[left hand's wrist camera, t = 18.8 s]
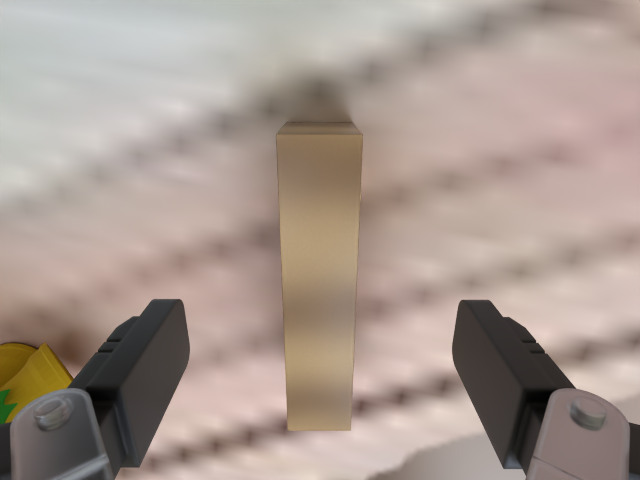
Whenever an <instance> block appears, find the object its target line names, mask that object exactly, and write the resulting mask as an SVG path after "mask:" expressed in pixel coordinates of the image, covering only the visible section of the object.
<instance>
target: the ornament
mask: <svg viewBox="0 0 640 480" xmlns="http://www.w3.org/2000/svg"><path fill="white" fill-rule="evenodd" d="M73 380H74V379H73V377H72V376H71V375H70V373H69V372H68V370H67V369H66V368H65V366H64V365H63V364H62V362H61V361H60V360H59V358H58V357H57V356H56V355H55V353H54V352H53V351H52V350H51V348H50V347H49V346H48V345H47V344H46V343H43V344H42V345H40V347H39V349H38V350H37V349H35V348H33V347H30V346H27V345H23V344H17V343H8V344H3V345H0V424H4V423H9V422H12V421H13V419H14V418H15V416H16V415H17V414H18V413H19V411H20V410H22V409H23V408H24V407H25V406H26V405H28V404H29V403H30V402H32V401H34V400H35V399H37V398H39V397H41V396H43V395H45V394H48V393H50V392H53V391H57V390H61V389H66V388H67V387H68V386H69V385H70V383H71V382H72V381H73Z"/></svg>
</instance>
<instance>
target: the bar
mask: <svg viewBox="0 0 640 480" xmlns="http://www.w3.org/2000/svg"><path fill="white" fill-rule="evenodd" d="M362 142H363V134H362V133H361V132H360V131H359V129H358V128H357V127H356V126H355V124H354V123H338V122H287V123H286V124H285V125H284V126H283V127H282V128H281V130H280V131H279V132H278V133H277V134H276V144H277V169H278V194H279V219H280V244H281V269H282V294H283V320H284V345H285V370H286V395H287V420H288V431H351V412H352V388H353V363H354V338H355V314H356V289H357V265H358V240H359V215H360V191H361V166H362Z"/></svg>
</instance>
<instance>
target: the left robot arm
mask: <svg viewBox="0 0 640 480" xmlns="http://www.w3.org/2000/svg"><path fill="white" fill-rule="evenodd" d="M189 354H190V344H189V337H188V330H187V323H186V317H185V310H184V305H183V302H182V300H180V299H153V300H152V301H151V302H150V303H149V305H148V306H147V307H146V309H145V310H144V311H143V312H142V314H141V315H140V316H133V317H132V318H130V319H129V320H127V321H126V322H124V323H123V324H121V325H119V326H118V327H117V328H116V329H115V330H114V331H113V333H112V334H111V335H110V336H109V337H108V339H107V342H104V343H103V345H102V346H101V347H100V348H99V350H98V353H95V354H94V356H93V357H92V358H91V359H90V360H89V362H88V363H87V364H86V365H85V366H84V368H83V369H82V370H81V371H80V372H79V374H78V375H77V376H76V377H75V379H74V380H73V381H72V382H71V383H70V385H69V386H68V387H67V388H66V389H61V390H57V391H53V392H50V393H48V394H45V395H43V396H41V397H39V398H37V399H35V400H34V401H32V402H30V403H29V404H28V405H26V406H25V407H24V408H23V409H22V410H20V411H19V413H18V414H17V415H16V416H15V418H14V419H13V421H12V422H9V423H4V424H0V480H114V479H115V477H116V475H117V473H118V472H119V470H120V468H121V467H140V465H141V463H142V461H143V458H144V456H145V454H146V452H147V450H148V448H149V446H150V443H151V441H152V439H153V437H154V435H155V433H156V431H157V429H158V426H159V424H160V422H161V420H162V418H163V416H164V414H165V411H166V409H167V407H168V405H169V403H170V401H171V399H172V397H173V394H174V392H175V390H176V388H177V386H178V384H179V382H180V379H181V377H182V375H183V373H184V371H185V369H186V367H187V364H188V360H189ZM452 355H453V361H454V365H455V367H456V370H457V372H458V374H459V376H460V378H461V380H462V382H463V384H464V386H465V389H466V391H467V393H468V395H469V397H470V399H471V401H472V403H473V405H474V407H475V410H476V412H477V414H478V416H479V418H480V420H481V422H482V424H483V426H484V429H485V431H486V433H487V435H488V437H489V439H490V441H491V443H492V445H493V448H494V450H495V452H496V454H497V456H498V458H499V460H500V462H501V464H502V466H503V468H504V469H523V471H524V473H525V475H526V480H640V425H637V424H633V423H629V422H628V421H627V419H626V418H625V416H624V415H623V414H622V413H621V411H620V410H618V409H617V408H616V407H615V406H614V405H612V404H611V403H610V402H608V401H606V400H605V399H603V398H601V397H599V396H597V395H595V394H592V393H590V392H587V391H583V390H579V389H576V388H575V387H574V385H573V384H572V383H571V382H570V381H569V379H568V378H567V377H566V376H565V375H564V373H563V372H562V371H561V370H560V369H559V367H558V366H557V365H556V364H555V363H554V361H553V360H552V359H551V358H550V357H549V355H548V354H545V351H544V350H543V348H542V347H541V346H540V345H539V344H538V343H536V340H535V339H534V338H533V336H532V335H531V334H530V333H529V332H528V330H527V329H526V328H525V327H523V326H522V325H520V324H519V323H517V322H516V321H514V320H513V319H511V318H510V317H503V316H502V315H501V314H500V313H499V311H498V310H497V309H496V307H495V306H494V305H493V304H492V302H491V301H489V300H461V301H460V303H459V306H458V311H457V318H456V324H455V331H454V338H453V344H452Z"/></svg>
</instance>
